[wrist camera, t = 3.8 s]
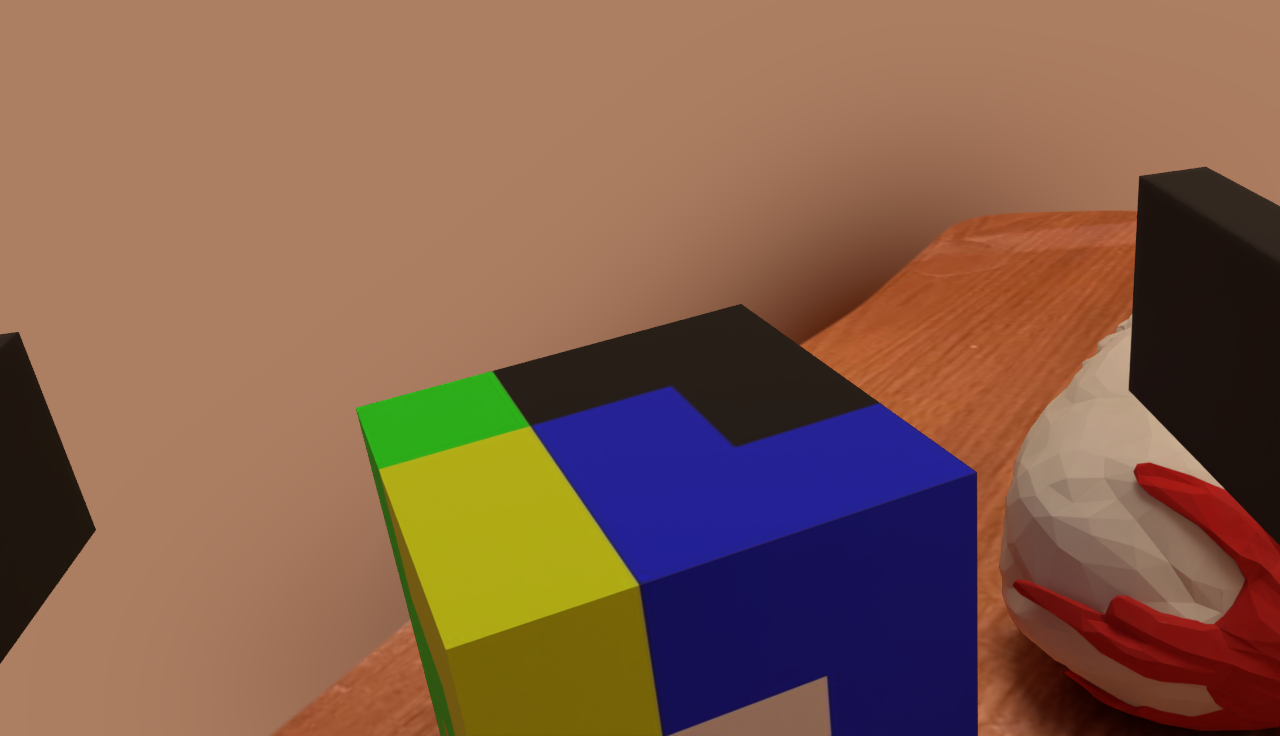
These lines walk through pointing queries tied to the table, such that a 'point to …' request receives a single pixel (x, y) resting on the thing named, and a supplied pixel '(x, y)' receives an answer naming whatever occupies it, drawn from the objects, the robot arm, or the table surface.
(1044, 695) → the table surface
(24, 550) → the robot arm
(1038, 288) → the table surface
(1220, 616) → the white and red skull
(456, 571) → the puzzle toy
